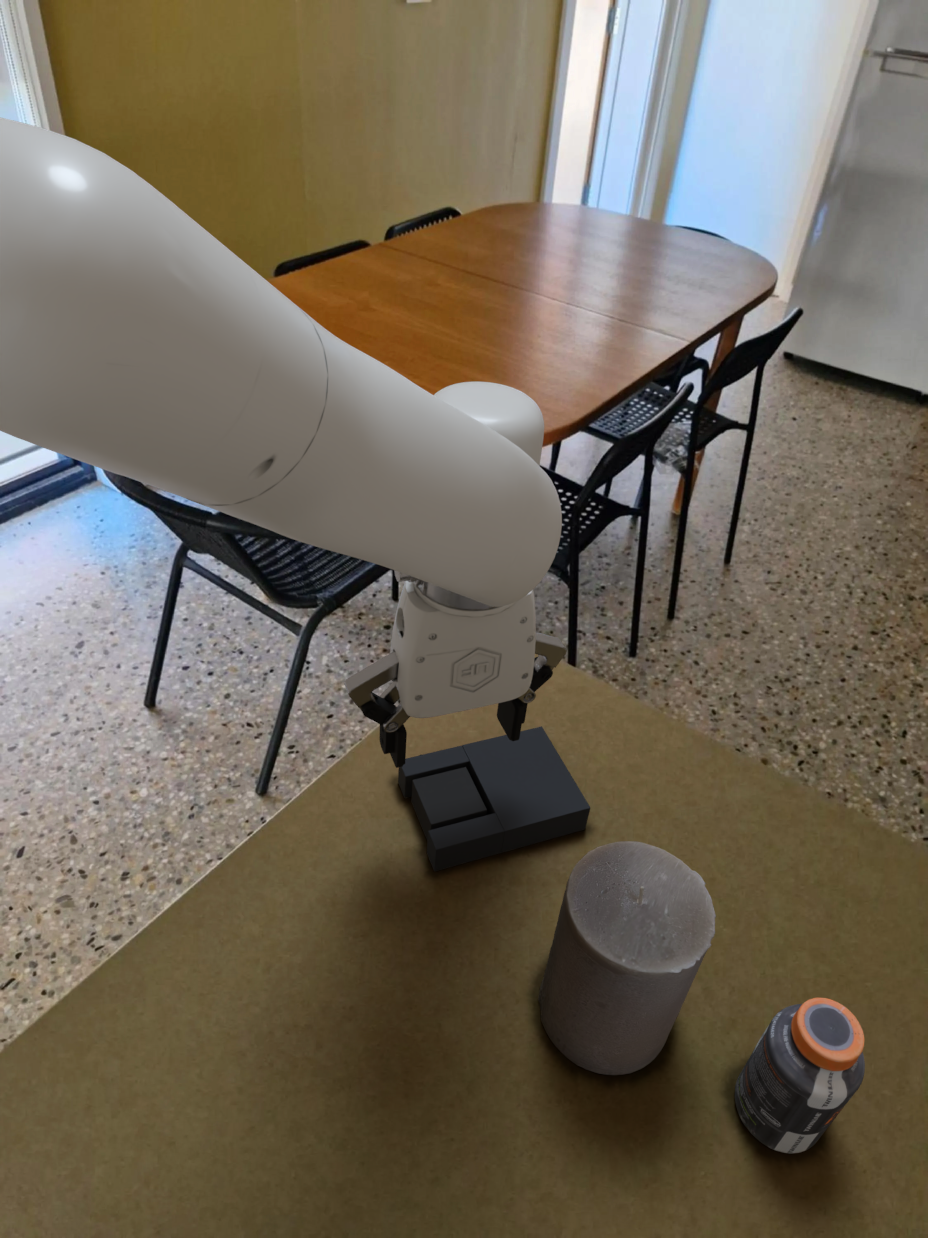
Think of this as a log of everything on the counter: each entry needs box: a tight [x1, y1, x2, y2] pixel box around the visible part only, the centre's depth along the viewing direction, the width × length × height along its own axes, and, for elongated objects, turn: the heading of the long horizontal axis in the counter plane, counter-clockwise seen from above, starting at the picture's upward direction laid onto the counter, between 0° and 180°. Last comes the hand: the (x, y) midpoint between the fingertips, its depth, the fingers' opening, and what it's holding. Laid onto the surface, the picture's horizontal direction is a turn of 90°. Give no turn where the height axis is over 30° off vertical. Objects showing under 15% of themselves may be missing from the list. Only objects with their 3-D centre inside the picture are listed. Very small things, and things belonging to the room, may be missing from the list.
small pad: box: [410, 767, 487, 841], centre depth 77 cm, size 5×5×3 cm
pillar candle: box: [537, 840, 717, 1076], centre depth 60 cm, size 10×10×15 cm
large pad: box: [397, 726, 591, 872], centre depth 78 cm, size 14×10×3 cm
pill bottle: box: [734, 997, 866, 1154], centre depth 57 cm, size 6×6×11 cm
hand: (452, 741), depth 71 cm, fingers open, 9 cm apart
